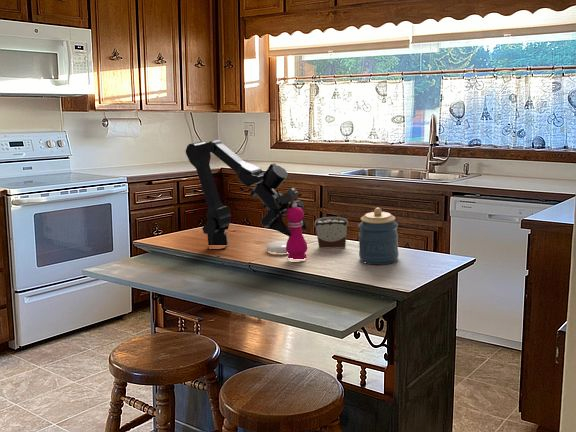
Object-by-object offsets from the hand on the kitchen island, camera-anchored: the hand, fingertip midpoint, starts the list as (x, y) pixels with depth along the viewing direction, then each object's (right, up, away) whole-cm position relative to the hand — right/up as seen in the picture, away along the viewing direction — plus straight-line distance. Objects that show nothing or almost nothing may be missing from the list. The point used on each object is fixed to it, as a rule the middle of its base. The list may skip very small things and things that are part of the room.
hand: (298, 232), depth 215 cm
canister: (+27, -9, -1) cm, 28 cm away
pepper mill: (0, -10, +3) cm, 10 cm away
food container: (+13, -5, +18) cm, 22 cm away
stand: (-5, -7, +15) cm, 17 cm away
